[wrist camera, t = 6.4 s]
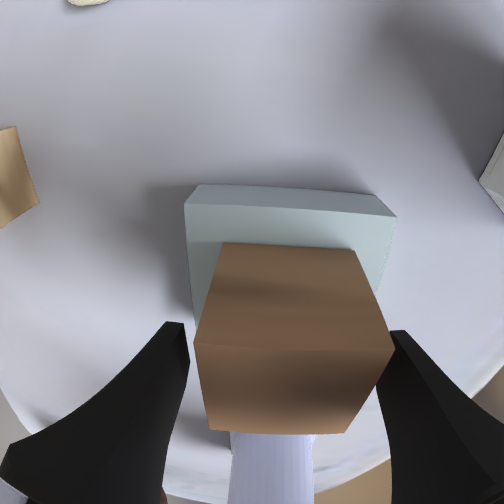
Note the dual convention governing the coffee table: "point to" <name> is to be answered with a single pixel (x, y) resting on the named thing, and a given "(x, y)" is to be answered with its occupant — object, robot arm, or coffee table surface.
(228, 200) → the slab
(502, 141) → the small box
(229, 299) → the walnut cube
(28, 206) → the oak cube
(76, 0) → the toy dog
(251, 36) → the coffee table surface
